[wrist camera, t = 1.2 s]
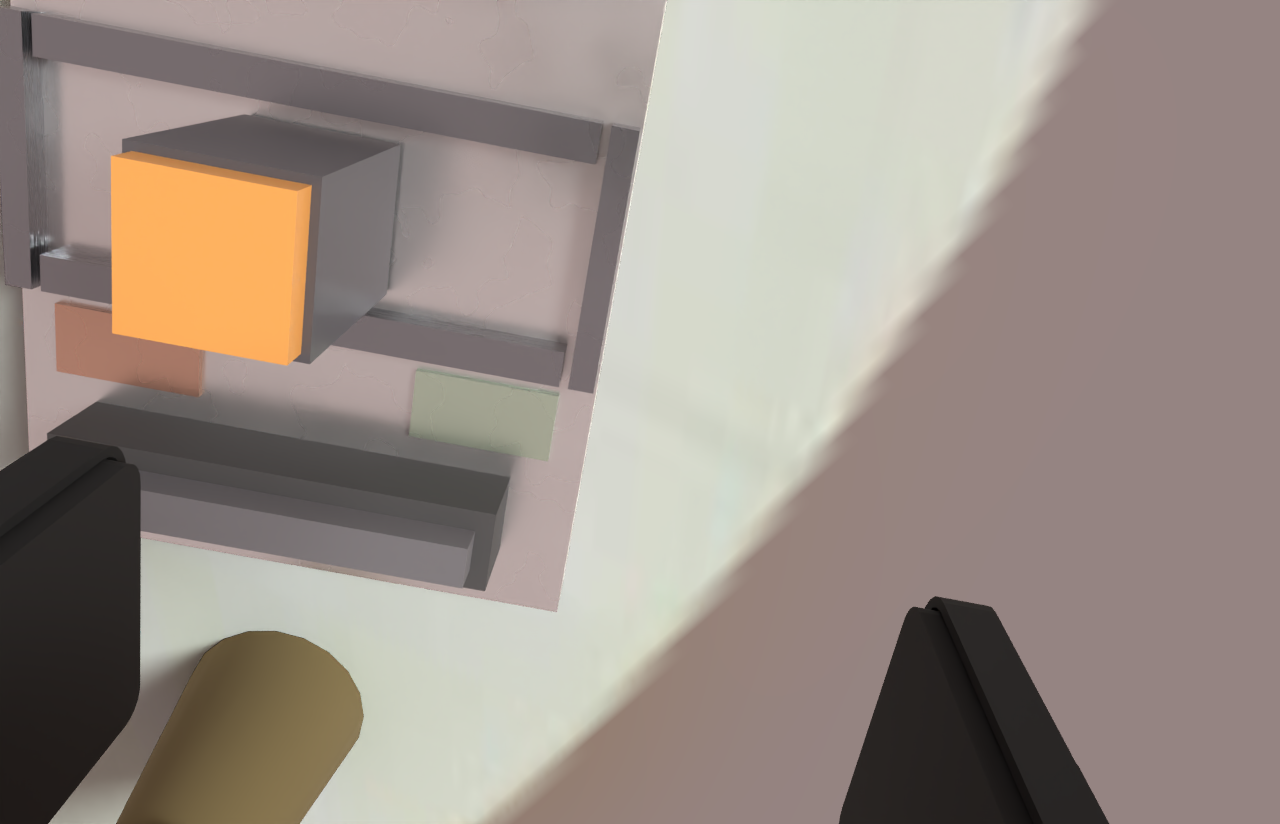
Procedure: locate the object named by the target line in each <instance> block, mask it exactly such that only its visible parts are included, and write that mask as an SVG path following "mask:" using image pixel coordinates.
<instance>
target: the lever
mask: <svg viewBox="0 0 1280 824" xmlns="http://www.w3.org/2000/svg"><path fill="white" fill-rule="evenodd" d="M400 147H401V144H398V143H392V142H387V141H382V140H377V139H371V138H366V137H361V136H356V135H351V134H345V133H340V132H335V131H330V130H325V129H319V128H314V127H309V126H304V125H299V124H293V123H288V122H283V121H278V120H273V119H267V118H262V117H257V116H252V115H246V114H243V115H238V116H233V117H228V118H223V119H218V120H213V121H208V122H204V123H199V124H194V125H189V126H184V127H179V128H174V129H169V130H164V131H159V132H154V133H149V134H144V135H139V136H134V137H129V138H124V139H122V153H121V154H117V155H112V156H111V243H112V333H113V334H119V335H124V336H129V337H135V338H140V339H146V340H151V341H156V342H162V343H167V344H173V345H178V346H183V347H189V348H194V349H200V350H205V351H211V352H216V353H221V354H227V355H232V356H238V357H243V358H248V359H254V360H259V361H265V362H270V363H275V364H281V365H286V366H287V365H289V364H290V363H291V362H292V361H294V362H300V363H305V364H311V363H312V362H313V361H314V360H315V359H316V358H317V357H318V356H319V355H321V354H322V353H323V352H324V351H325V350H326V349H327V348H328V347H329V346H330V345H332V344H333V343H334V342H335V341H336V340H337V339H338V338H339V337H340V336H341V335H343V334H344V333H345V332H346V331H347V330H348V329H349V328H350V327H351V326H352V325H354V324H355V323H356V322H357V321H358V320H359V319H360V318H361V317H362V316H363V315H365V314H366V313H367V312H368V311H369V310H370V309H371V308H372V307H373V306H374V305H376V304H377V303H378V302H379V301H380V300H381V299H382V298H383V297H384V296H385V295H387V286H388V275H389V264H390V254H391V243H392V233H393V222H394V211H395V201H396V190H397V179H398V169H399V158H400Z"/></svg>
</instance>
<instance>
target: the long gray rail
mask: <svg viewBox="0 0 1280 824" xmlns="http://www.w3.org/2000/svg"><path fill="white" fill-rule="evenodd" d="M55 436H61V437H67V438H73V439H78V440H83V441H89V442H94V443H100V444H105V445H111V446H116V447H118V448H119V449H120V450H121V451H122V452H123V455H124V457H125V461H126V463H129V464H134V465H135V466H136V467H137V468H138V470H139V473H140V480H141V531H144V532H150V533H155V534H161V535H166V536H172V537H177V538H183V539H189V540H194V541H200V542H205V543H211V544H217V545H222V546H228V547H233V548H239V549H244V550H250V551H256V552H261V553H267V554H272V555H278V556H283V557H289V558H295V559H300V560H306V561H311V562H317V563H322V564H328V565H334V566H339V567H345V568H350V569H356V570H361V571H367V572H373V573H378V574H384V575H389V576H395V577H400V578H406V579H412V580H417V581H423V582H428V583H434V584H440V585H445V586H451V587H456V588H469V589H474V590H480V591H485V590H486V587H487V584H488V581H489V579H490V576H491V573H492V570H493V567H494V564H495V561H496V558H497V556H498V553H499V550H500V544H501V537H502V531H503V524H504V517H505V511H506V504H507V497H508V491H509V484H510V477H506V476H501V475H495V474H490V473H484V472H479V471H474V470H468V469H463V468H457V467H452V466H446V465H441V464H435V463H430V462H424V461H419V460H413V459H408V458H402V457H397V456H391V455H386V454H381V453H375V452H370V451H364V450H359V449H353V448H348V447H342V446H337V445H331V444H326V443H320V442H315V441H309V440H304V439H299V438H293V437H288V436H282V435H277V434H271V433H266V432H260V431H255V430H249V429H244V428H238V427H233V426H227V425H222V424H216V423H211V422H206V421H200V420H195V419H189V418H184V417H178V416H173V415H167V414H162V413H156V412H151V411H145V410H140V409H134V408H129V407H124V406H118V405H113V404H107V403H102V402H95V403H93V404H92V405H90V406H89V407H87V408H86V409H84V410H82V411H81V412H79V413H78V414H76V415H75V416H73V417H71V418H70V419H68V420H67V421H65V422H64V423H62V424H61V425H59V426H57V427H56V428H54V429H53V430H51V431H50V432H48V433H47V440H48V439H50V438H53V437H55Z"/></svg>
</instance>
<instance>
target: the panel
mask: <svg viewBox="0 0 1280 824" xmlns="http://www.w3.org/2000/svg"><path fill="white" fill-rule="evenodd" d="M666 5H667V0H10V6H0V186H1V207H2V228H3V249H4V270H5V285H10V286H15V287H21V288H22V295H23V319H24V343H25V367H26V391H27V415H28V439H29V452H30V451H32V450H33V449H35V448H36V447H38V446H39V445H41V444H42V443H44V442H45V441H47V433H48V432H50V431H51V430H53V429H54V428H56V427H57V426H59V425H61V424H62V423H64V422H65V421H67V420H68V419H70V418H71V417H73V416H75V415H76V414H78V413H79V412H81V411H82V410H84V409H86V408H87V407H89V406H90V405H92V404H93V403H95V402H102V403H107V404H113V405H118V406H124V407H129V408H134V409H140V410H145V411H151V412H156V413H162V414H167V415H173V416H178V417H184V418H189V419H195V420H200V421H206V422H211V423H216V424H222V425H227V426H233V427H238V428H244V429H249V430H255V431H260V432H266V433H271V434H277V435H282V436H288V437H293V438H299V439H304V440H309V441H315V442H320V443H326V444H331V445H337V446H342V447H348V448H353V449H359V450H364V451H370V452H375V453H381V454H386V455H391V456H397V457H402V458H408V459H413V460H419V461H424V462H430V463H435V464H441V465H446V466H452V467H457V468H463V469H468V470H474V471H479V472H484V473H490V474H495V475H501V476H506V477H510V484H509V491H508V497H507V504H506V511H505V517H504V524H503V531H502V537H501V544H500V550H499V553H498V556H497V558H496V561H495V564H494V567H493V570H492V573H491V576H490V579H489V581H488V584H487V587H486V590H485V591H480V590H474V589H469V588H456V587H451V586H445V585H440V584H434V583H428V582H423V581H417V580H412V579H406V578H400V577H395V576H389V575H384V574H378V573H373V572H367V571H361V570H356V569H350V568H345V567H339V566H334V565H328V564H322V563H317V562H311V561H306V560H300V559H295V558H289V557H283V556H278V555H272V554H267V553H261V552H256V551H250V550H244V549H239V548H233V547H228V546H222V545H217V544H211V543H205V542H200V541H194V540H189V539H183V538H177V537H172V536H166V535H161V534H155V533H150V532H144V531H141V538H146V539H152V540H157V541H163V542H169V543H174V544H180V545H185V546H191V547H196V548H202V549H208V550H213V551H219V552H224V553H230V554H235V555H241V556H247V557H252V558H258V559H263V560H269V561H275V562H280V563H286V564H291V565H297V566H302V567H308V568H314V569H319V570H325V571H330V572H336V573H342V574H347V575H353V576H358V577H364V578H369V579H375V580H381V581H386V582H392V583H397V584H403V585H408V586H414V587H420V588H425V589H431V590H436V591H442V592H448V593H453V594H459V595H464V596H470V597H475V598H481V599H487V600H492V601H498V602H503V603H509V604H515V605H520V606H526V607H531V608H537V609H542V610H548V611H554V612H557V609H558V604H559V599H560V595H561V590H562V585H563V581H564V575H565V570H566V564H567V559H568V553H569V547H570V542H571V536H572V531H573V525H574V519H575V514H576V508H577V503H578V497H579V492H580V486H581V480H582V475H583V469H584V464H585V458H586V452H587V447H588V441H589V436H590V430H591V424H592V419H593V413H594V408H595V402H596V397H597V391H598V385H599V380H600V374H601V369H602V363H603V357H604V352H605V346H606V341H607V335H608V329H609V324H610V318H611V313H612V307H613V302H614V296H615V290H616V285H617V279H618V274H619V268H620V262H621V257H622V251H623V246H624V240H625V235H626V229H627V223H628V218H629V212H630V207H631V201H632V195H633V190H634V184H635V179H636V173H637V167H638V162H639V156H640V151H641V145H642V140H643V134H644V128H645V123H646V117H647V112H648V106H649V100H650V95H651V89H652V84H653V78H654V72H655V67H656V61H657V56H658V50H659V45H660V39H661V33H662V28H663V22H664V17H665V11H666ZM243 114H246V115H252V116H257V117H262V118H267V119H273V120H278V121H283V122H288V123H293V124H299V125H304V126H309V127H314V128H319V129H325V130H330V131H335V132H340V133H345V134H351V135H356V136H361V137H366V138H371V139H377V140H382V141H387V142H392V143H398V144H401V147H400V158H399V169H398V179H397V190H396V201H395V211H394V222H393V233H392V243H391V254H390V264H389V275H388V286H387V295H385V296H384V297H383V298H382V299H381V300H380V301H379V302H378V303H377V304H376V305H374V306H373V307H372V308H371V309H370V310H369V311H368V312H367V313H366V314H365V315H363V316H362V317H361V318H360V319H359V320H358V321H357V322H356V323H355V324H354V325H352V326H351V327H350V328H349V329H348V330H347V331H346V332H345V333H344V334H343V335H341V336H340V337H339V338H338V339H337V340H336V341H335V342H334V343H333V344H332V345H330V346H329V347H328V348H327V349H326V350H325V351H324V352H323V353H322V354H321V355H319V356H318V357H317V358H316V359H315V360H314V361H313V362H312V363H311V364H305V363H300V362H294V361H292V362H291V363H290V364H289V365H287V366H286V365H281V364H275V363H270V362H265V361H259V360H254V359H248V358H243V357H238V356H232V355H227V354H221V353H216V352H211V351H205V350H200V349H194V348H189V347H183V346H178V345H173V344H167V343H162V342H156V341H151V340H146V339H140V338H135V337H129V336H124V335H119V334H113V333H112V243H111V156H112V155H117V154H121V153H122V139H124V138H129V137H134V136H139V135H144V134H149V133H154V132H159V131H164V130H169V129H174V128H179V127H184V126H189V125H194V124H199V123H204V122H208V121H213V120H218V119H223V118H228V117H233V116H238V115H243Z"/></svg>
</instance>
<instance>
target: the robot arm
mask: <svg viewBox="0 0 1280 824" xmlns="http://www.w3.org/2000/svg"><path fill="white" fill-rule="evenodd" d="M140 550H141V480H140V473H139V470H138V468H137V467H136V466H135V465H134V464H129V463H126V461H125V457H124V455H123V452H122V451H121V450H120V449H119V448H118V447H116V446H111V445H105V444H100V443H94V442H89V441H83V440H78V439H73V438H67V437H61V436H55V437H53V438H50V439H48V440H47V441H45V442H44V443H42V444H41V445H39V446H38V447H36V448H35V449H33V450H32V451H30V452H28V453H27V454H25V455H24V456H22V457H21V458H19V459H18V460H16V461H15V462H13V463H12V464H10V465H9V466H7V467H6V468H4V469H3V470H1V471H0V824H48V823H49V822H50V820H51V819H52V818H53V817H54V815H55V814H56V813H57V812H58V810H59V809H60V808H61V807H62V805H63V804H64V803H65V802H66V800H67V799H68V798H69V796H70V795H71V794H72V793H73V791H74V790H75V789H76V788H77V786H78V785H79V784H80V783H81V781H82V780H83V779H84V778H85V776H86V775H87V774H88V772H89V771H90V770H91V769H92V767H93V766H94V765H95V764H96V762H97V761H98V760H99V759H100V757H101V756H102V755H103V754H104V752H105V751H106V750H107V748H108V747H109V746H110V745H111V743H112V742H113V741H114V740H115V738H116V737H117V736H118V735H119V733H120V732H121V731H122V730H123V728H124V727H125V726H126V724H127V723H128V721H129V720H130V718H131V716H132V714H133V712H134V709H135V706H136V703H137V700H138V696H139V690H140ZM839 824H1109V823H1108V821H1107V819H1106V817H1105V815H1104V813H1103V811H1102V809H1101V808H1100V806H1099V804H1098V802H1097V800H1096V798H1095V796H1094V794H1093V793H1092V791H1091V789H1090V787H1089V785H1088V783H1087V782H1086V779H1085V778H1084V776H1083V774H1082V772H1081V770H1080V768H1079V766H1078V765H1077V764H1076V762H1075V760H1074V759H1073V757H1072V755H1071V753H1070V751H1069V749H1068V747H1067V745H1066V743H1065V742H1064V740H1063V738H1062V736H1061V734H1060V732H1059V730H1058V729H1057V727H1056V725H1055V723H1054V721H1053V719H1052V717H1051V715H1050V713H1049V712H1048V710H1047V708H1046V706H1045V704H1044V702H1043V700H1042V698H1041V697H1040V695H1039V693H1038V691H1037V689H1036V687H1035V685H1034V683H1033V682H1032V680H1031V678H1030V676H1029V674H1028V672H1027V670H1026V668H1025V667H1024V665H1023V663H1022V661H1021V659H1020V657H1019V655H1018V653H1017V652H1016V650H1015V648H1014V646H1013V644H1012V642H1011V640H1010V638H1009V636H1008V635H1007V633H1006V631H1005V629H1004V627H1003V625H1002V623H1001V621H1000V620H999V618H998V616H997V614H996V612H995V611H994V610H993V608H992V607H989V606H985V605H979V604H974V603H969V602H963V601H958V600H952V599H946V598H942V597H936V596H935V597H933V598H932V599H930V601H929V602H928V604H927V605H926V607H925V609H923V608H918V607H912V608H911V609H910V610H909V611H908V613H907V615H906V617H905V620H904V623H903V625H902V628H901V631H900V635H899V638H898V641H897V644H896V647H895V650H894V653H893V656H892V659H891V662H890V665H889V668H888V671H887V674H886V677H885V680H884V683H883V686H882V689H881V692H880V695H879V699H878V701H877V704H876V708H875V710H874V713H873V716H872V719H871V722H870V726H869V728H868V731H867V734H866V738H865V741H864V744H863V747H862V750H861V753H860V756H859V759H858V762H857V765H856V768H855V771H854V774H853V777H852V780H851V783H850V786H849V789H848V792H847V795H846V798H845V801H844V804H843V807H842V811H841V815H840V821H839Z"/></svg>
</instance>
